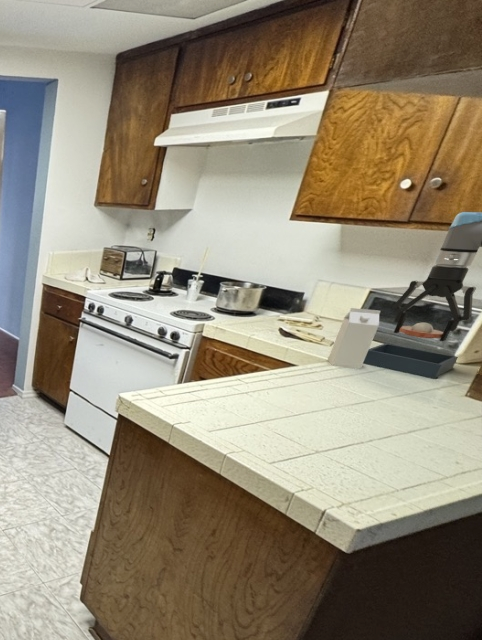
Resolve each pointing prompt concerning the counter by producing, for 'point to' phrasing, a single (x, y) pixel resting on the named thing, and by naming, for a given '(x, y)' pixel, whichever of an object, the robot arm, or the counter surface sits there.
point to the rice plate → (421, 331)
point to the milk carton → (354, 338)
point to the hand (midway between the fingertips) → (418, 336)
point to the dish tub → (409, 360)
